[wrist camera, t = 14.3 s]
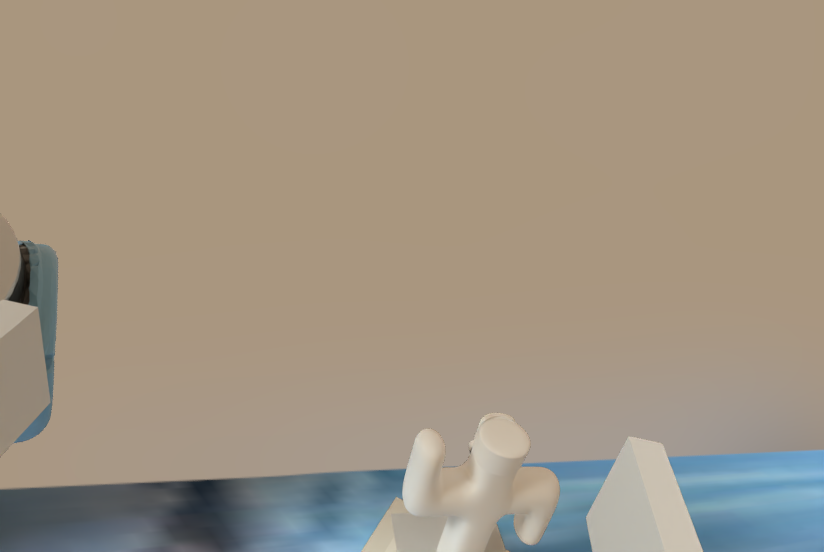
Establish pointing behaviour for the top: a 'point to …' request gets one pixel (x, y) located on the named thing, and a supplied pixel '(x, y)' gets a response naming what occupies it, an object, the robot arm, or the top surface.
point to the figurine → (474, 492)
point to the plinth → (386, 531)
